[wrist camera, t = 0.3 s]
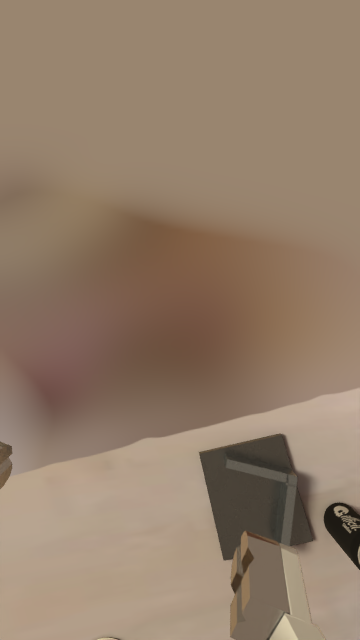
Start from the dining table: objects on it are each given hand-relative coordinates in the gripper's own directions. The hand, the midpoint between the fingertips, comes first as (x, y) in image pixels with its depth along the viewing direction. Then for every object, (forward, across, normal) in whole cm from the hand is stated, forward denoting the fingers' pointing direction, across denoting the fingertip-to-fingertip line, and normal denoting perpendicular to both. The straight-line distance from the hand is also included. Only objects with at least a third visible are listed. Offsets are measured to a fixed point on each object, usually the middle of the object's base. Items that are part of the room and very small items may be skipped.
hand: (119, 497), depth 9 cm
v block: (+39, +19, -40) cm, 59 cm away
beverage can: (+39, +36, -39) cm, 66 cm away
